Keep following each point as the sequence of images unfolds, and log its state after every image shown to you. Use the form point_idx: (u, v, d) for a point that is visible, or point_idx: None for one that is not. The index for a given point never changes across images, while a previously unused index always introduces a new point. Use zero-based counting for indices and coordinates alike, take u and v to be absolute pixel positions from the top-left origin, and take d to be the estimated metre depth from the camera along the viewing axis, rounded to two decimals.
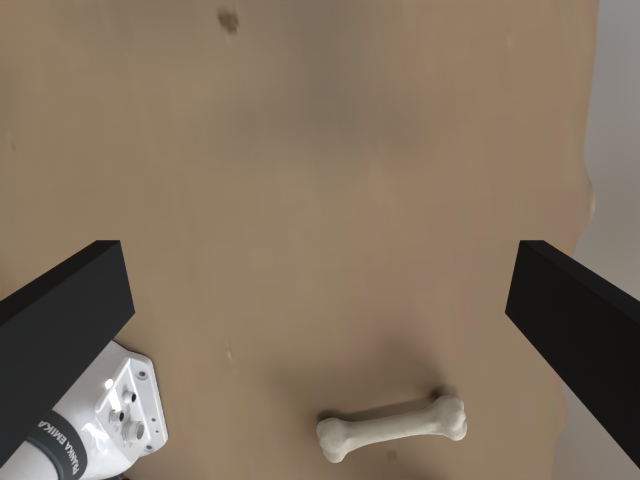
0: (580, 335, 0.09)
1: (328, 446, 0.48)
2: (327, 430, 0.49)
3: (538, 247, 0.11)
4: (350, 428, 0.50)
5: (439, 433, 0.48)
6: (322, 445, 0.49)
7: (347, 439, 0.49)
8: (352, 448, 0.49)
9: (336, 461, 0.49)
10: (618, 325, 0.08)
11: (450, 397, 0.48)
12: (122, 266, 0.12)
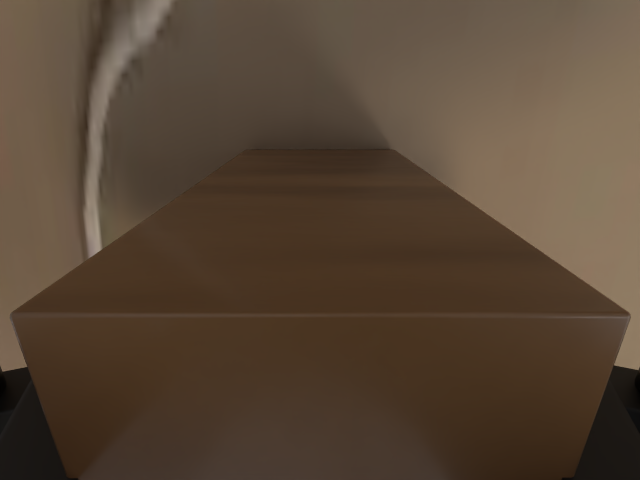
0: None
1: None
2: None
3: None
4: None
5: None
6: None
7: None
8: None
9: None
10: None
11: None
12: None
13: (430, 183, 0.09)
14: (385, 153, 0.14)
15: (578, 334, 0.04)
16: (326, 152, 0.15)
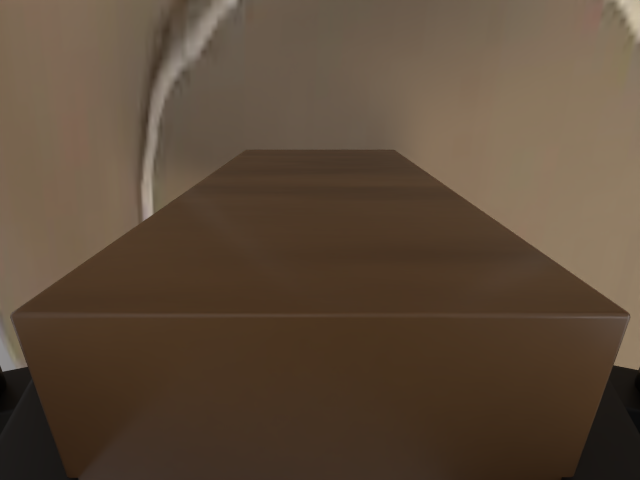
0: None
1: None
2: None
3: None
4: None
5: None
6: None
7: None
8: None
9: None
10: None
11: None
12: None
13: (430, 183, 0.09)
14: (385, 153, 0.15)
15: (577, 334, 0.04)
16: (326, 152, 0.15)
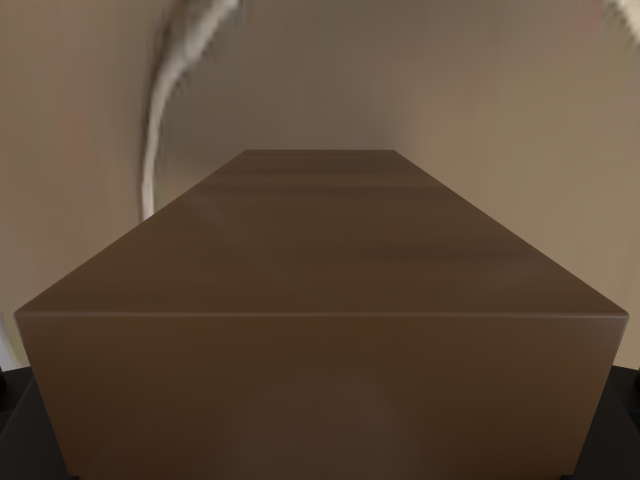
0: None
1: None
2: None
3: None
4: None
5: None
6: None
7: None
8: None
9: None
10: None
11: None
12: None
13: (430, 183, 0.09)
14: (385, 153, 0.15)
15: (576, 333, 0.04)
16: (326, 152, 0.15)
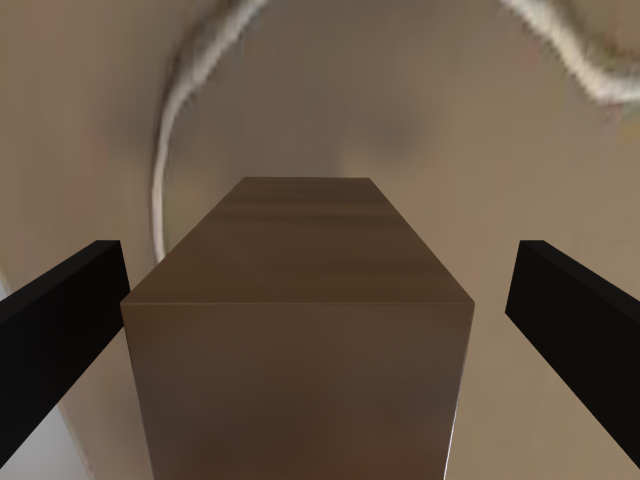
0: (580, 335, 0.09)
1: None
2: None
3: (538, 247, 0.11)
4: None
5: None
6: None
7: None
8: None
9: None
10: (618, 325, 0.08)
11: None
12: (122, 266, 0.12)
13: (389, 212, 0.12)
14: (361, 181, 0.17)
15: (446, 314, 0.07)
16: (312, 180, 0.18)
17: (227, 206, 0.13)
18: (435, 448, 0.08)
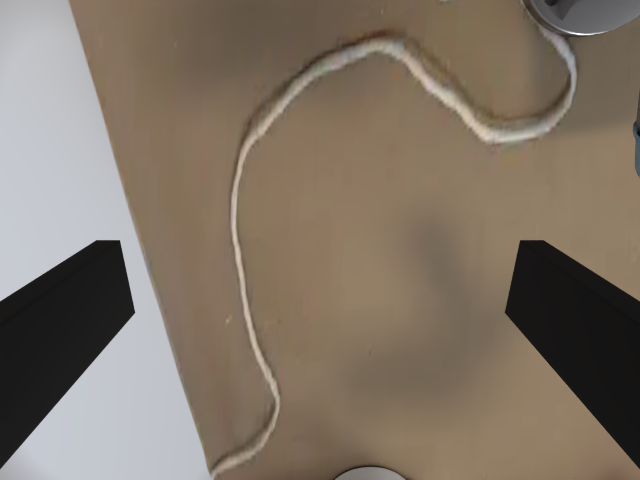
0: (580, 335, 0.09)
1: None
2: None
3: (538, 247, 0.11)
4: None
5: None
6: None
7: None
8: None
9: None
10: (618, 325, 0.08)
11: None
12: (122, 266, 0.12)
13: None
14: None
15: None
16: None
17: None
18: None
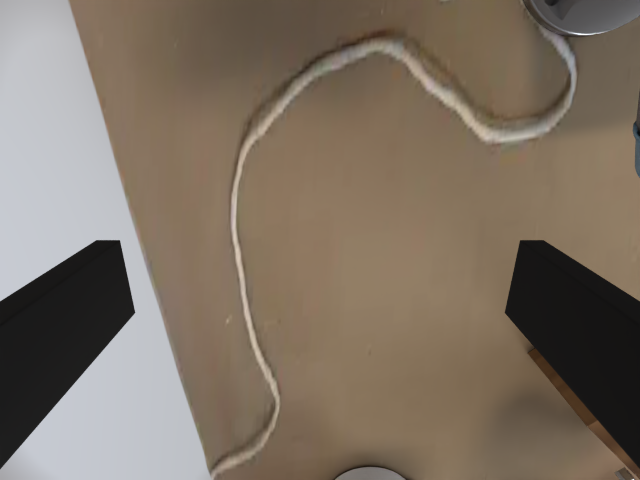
0: (580, 335, 0.09)
1: None
2: None
3: (538, 247, 0.11)
4: None
5: None
6: None
7: None
8: None
9: None
10: (618, 325, 0.08)
11: None
12: (122, 266, 0.12)
13: None
14: None
15: None
16: None
17: (554, 381, 0.47)
18: None
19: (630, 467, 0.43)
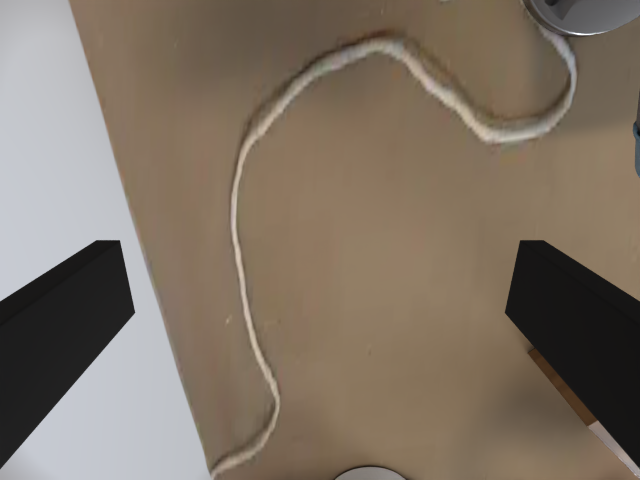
0: (580, 335, 0.09)
1: None
2: None
3: (538, 247, 0.11)
4: None
5: None
6: None
7: None
8: None
9: None
10: (618, 325, 0.08)
11: None
12: (122, 266, 0.12)
13: None
14: None
15: None
16: None
17: (554, 381, 0.47)
18: None
19: (630, 467, 0.43)
